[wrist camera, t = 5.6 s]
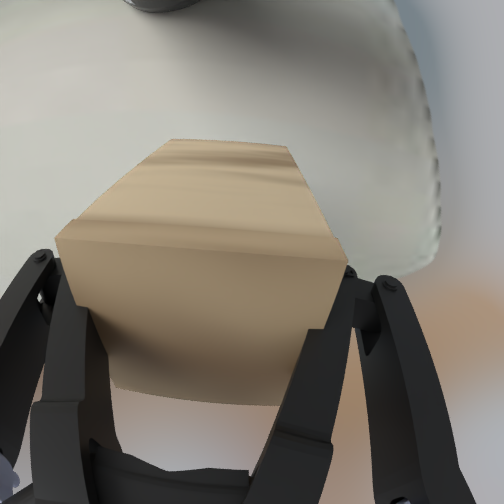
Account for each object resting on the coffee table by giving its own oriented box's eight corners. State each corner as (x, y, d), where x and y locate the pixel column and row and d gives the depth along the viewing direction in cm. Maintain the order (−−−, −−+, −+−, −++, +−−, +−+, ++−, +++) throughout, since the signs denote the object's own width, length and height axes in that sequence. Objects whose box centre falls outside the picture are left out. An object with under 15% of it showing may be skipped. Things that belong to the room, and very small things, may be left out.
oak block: (170, 138, 16) (54, 237, 6) (287, 145, 16) (347, 260, 6) (173, 237, 20) (115, 387, 10) (272, 245, 20) (289, 405, 10)
